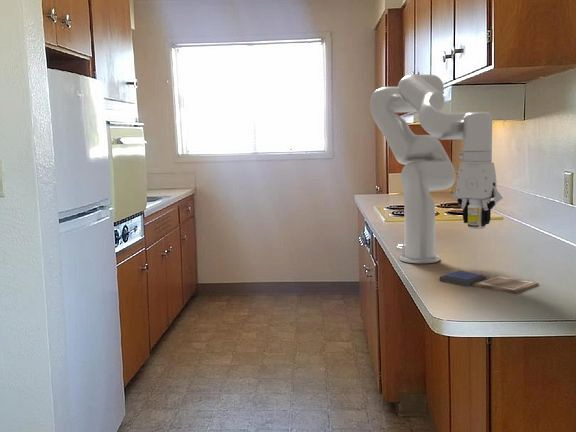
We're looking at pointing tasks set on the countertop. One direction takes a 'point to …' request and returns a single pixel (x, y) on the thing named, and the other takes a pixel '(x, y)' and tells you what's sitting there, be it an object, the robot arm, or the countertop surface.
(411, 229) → the robot arm
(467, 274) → the ink pad
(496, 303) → the countertop surface
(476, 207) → the supplement bottle
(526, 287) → the marked board
